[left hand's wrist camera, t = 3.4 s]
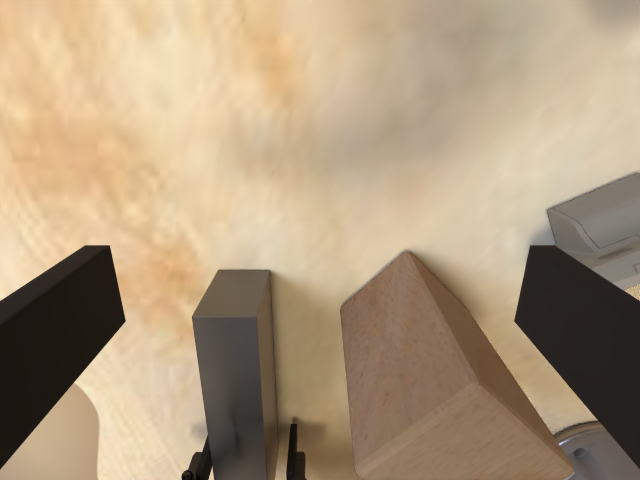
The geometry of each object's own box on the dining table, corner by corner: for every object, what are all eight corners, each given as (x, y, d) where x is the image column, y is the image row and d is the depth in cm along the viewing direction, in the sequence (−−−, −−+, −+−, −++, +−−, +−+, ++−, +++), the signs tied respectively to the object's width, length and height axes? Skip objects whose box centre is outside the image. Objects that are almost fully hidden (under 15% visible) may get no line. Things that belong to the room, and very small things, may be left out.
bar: (218, 269, 41) (191, 316, 33) (269, 269, 41) (256, 316, 33) (236, 446, 50) (219, 519, 42) (278, 446, 50) (270, 519, 42)
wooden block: (466, 306, 43) (580, 474, 24) (398, 359, 45) (453, 549, 26) (406, 247, 40) (482, 383, 21) (338, 307, 43) (352, 475, 24)
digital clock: (520, 279, 41) (583, 338, 31) (515, 200, 38) (583, 238, 28) (679, 245, 40) (798, 296, 30) (687, 160, 37) (823, 185, 27)
